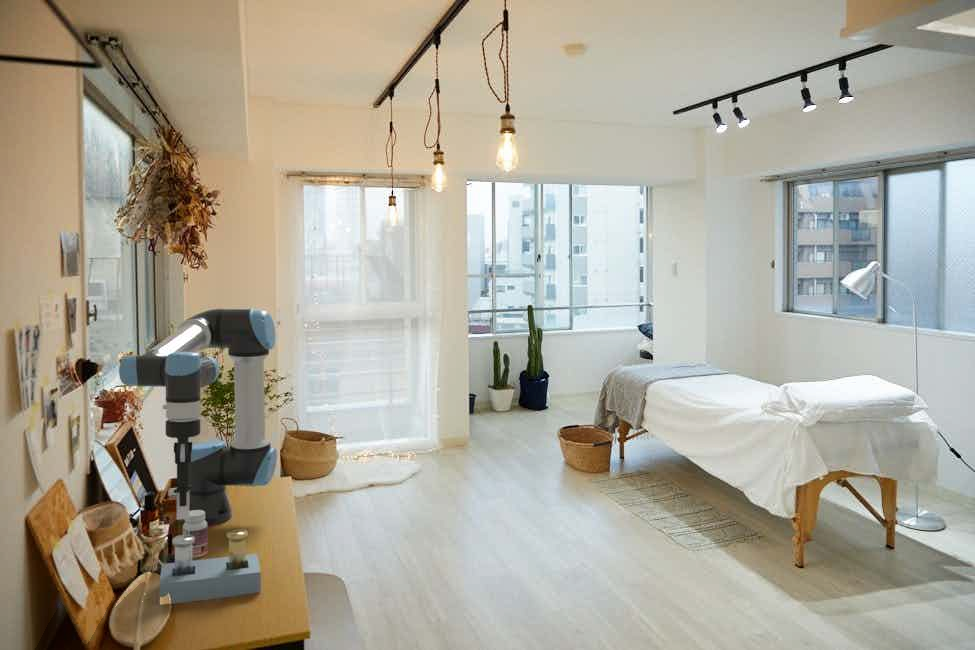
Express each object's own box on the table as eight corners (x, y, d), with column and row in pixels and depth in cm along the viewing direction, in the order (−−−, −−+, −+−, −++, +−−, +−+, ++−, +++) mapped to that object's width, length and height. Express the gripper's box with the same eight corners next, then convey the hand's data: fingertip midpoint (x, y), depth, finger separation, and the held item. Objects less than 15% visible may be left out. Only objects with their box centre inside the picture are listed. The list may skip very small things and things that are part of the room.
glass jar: (226, 564, 178) (226, 530, 177) (247, 562, 180) (247, 528, 179) (227, 572, 174) (227, 537, 173) (248, 569, 175) (248, 535, 175)
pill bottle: (212, 551, 198) (212, 510, 197) (198, 559, 192) (198, 517, 191) (192, 548, 199) (192, 508, 198) (177, 557, 193) (177, 515, 192)
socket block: (162, 584, 176) (161, 564, 176) (257, 572, 184) (257, 553, 184) (159, 605, 165) (159, 584, 165) (260, 592, 173) (260, 572, 173)
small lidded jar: (173, 570, 174) (172, 535, 173) (194, 568, 175) (194, 533, 175) (172, 578, 169) (172, 542, 169) (194, 575, 171) (194, 540, 170)
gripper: (166, 414, 174) (166, 511, 176) (164, 424, 162) (164, 528, 164) (200, 413, 177) (200, 508, 178) (200, 423, 165) (200, 525, 166)
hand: (183, 518), depth 171 cm, fingers closed
